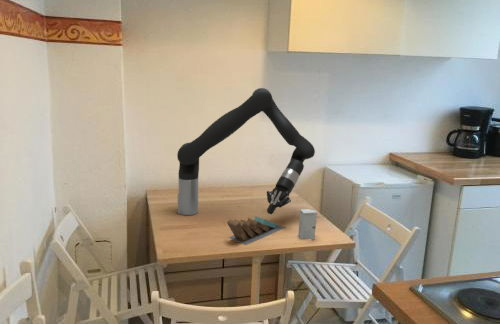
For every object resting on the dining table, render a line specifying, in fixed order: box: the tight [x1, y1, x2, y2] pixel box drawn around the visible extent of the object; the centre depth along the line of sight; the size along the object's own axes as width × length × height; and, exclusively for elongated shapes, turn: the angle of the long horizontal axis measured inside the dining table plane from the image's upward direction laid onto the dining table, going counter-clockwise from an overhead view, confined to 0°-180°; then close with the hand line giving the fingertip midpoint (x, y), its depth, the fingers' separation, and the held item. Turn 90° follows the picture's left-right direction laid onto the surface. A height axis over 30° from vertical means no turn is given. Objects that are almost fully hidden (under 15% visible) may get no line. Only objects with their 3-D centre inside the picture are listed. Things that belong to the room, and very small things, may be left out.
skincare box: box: [297, 208, 318, 241], centre depth 176 cm, size 6×4×12 cm
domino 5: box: [253, 216, 278, 228], centre depth 183 cm, size 2×5×10 cm
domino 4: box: [246, 217, 270, 232], centre depth 179 cm, size 2×5×10 cm
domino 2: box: [233, 219, 255, 238], centre depth 173 cm, size 2×5×10 cm
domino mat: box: [228, 224, 286, 246], centre depth 180 cm, size 26×10×1 cm, turn 138°
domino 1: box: [226, 218, 247, 242], centre depth 170 cm, size 2×5×10 cm
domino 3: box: [239, 218, 262, 235], centre depth 176 cm, size 2×5×10 cm
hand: (269, 213), depth 184 cm, fingers closed
